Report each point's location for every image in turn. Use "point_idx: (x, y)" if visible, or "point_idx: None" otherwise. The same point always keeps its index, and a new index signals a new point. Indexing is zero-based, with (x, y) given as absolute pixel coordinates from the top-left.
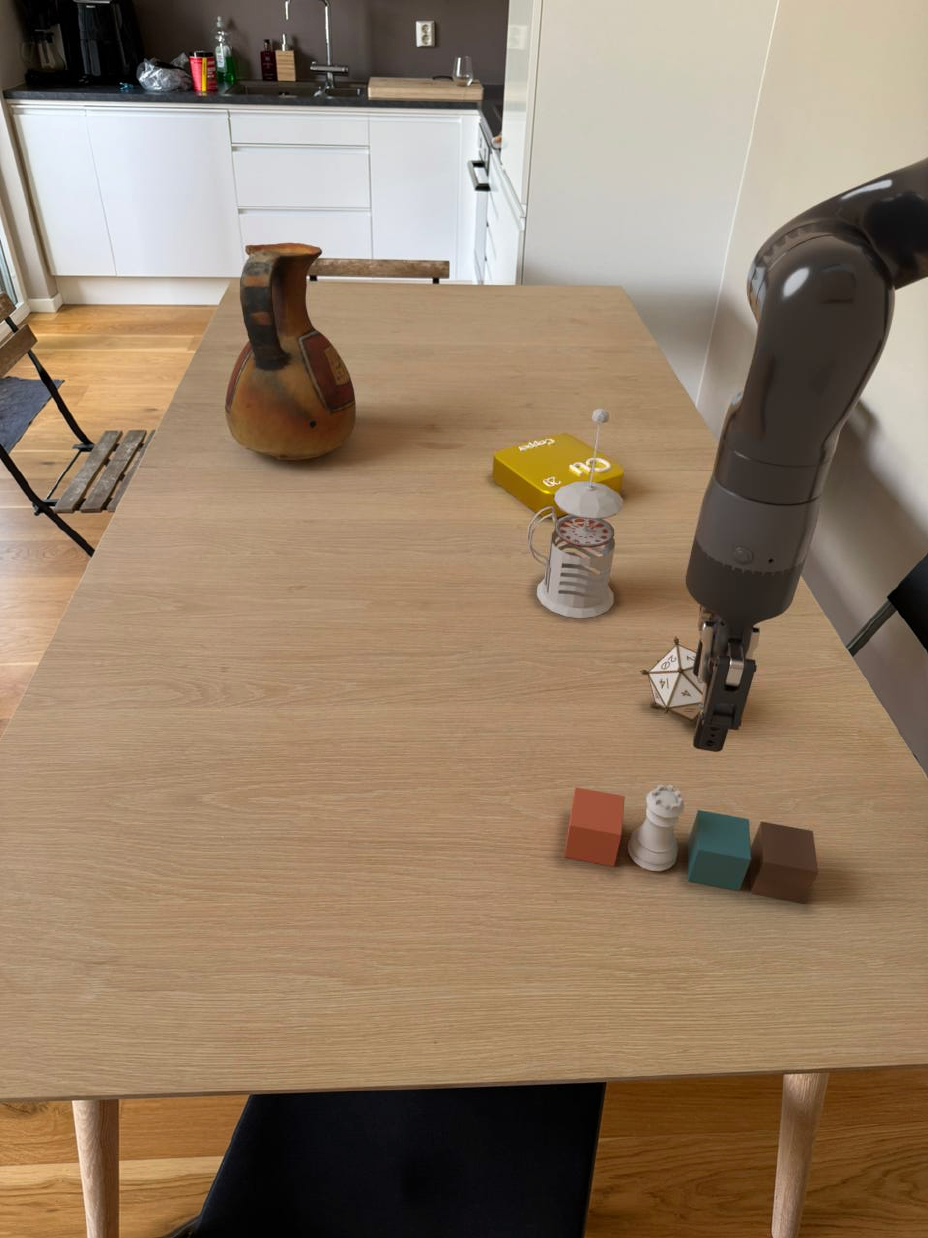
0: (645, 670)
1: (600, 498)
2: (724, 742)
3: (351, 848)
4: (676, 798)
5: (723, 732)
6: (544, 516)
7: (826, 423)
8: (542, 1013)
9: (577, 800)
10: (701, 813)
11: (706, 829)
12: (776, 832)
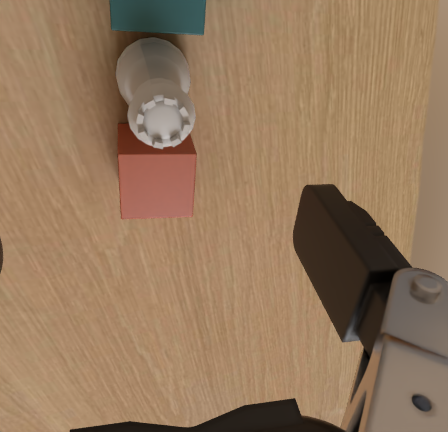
0: None
1: None
2: (346, 200)
3: (212, 347)
4: (158, 103)
5: (400, 253)
6: None
7: None
8: (369, 177)
9: (146, 214)
10: (119, 24)
11: (156, 16)
12: None
